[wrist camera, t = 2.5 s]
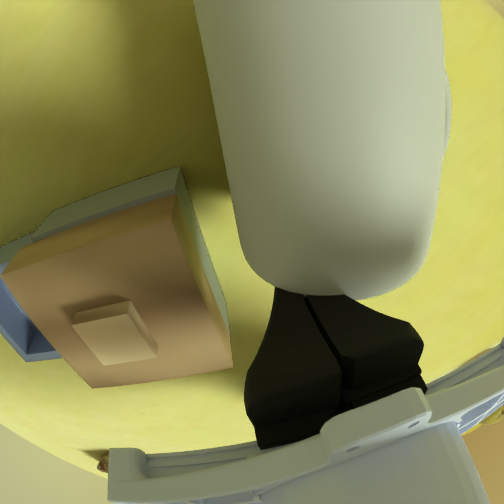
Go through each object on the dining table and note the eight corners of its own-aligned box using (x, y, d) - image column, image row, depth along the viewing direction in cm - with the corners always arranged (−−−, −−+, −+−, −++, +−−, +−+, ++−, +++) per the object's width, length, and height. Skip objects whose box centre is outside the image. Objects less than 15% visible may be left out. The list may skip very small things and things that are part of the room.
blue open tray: (114, 319, 20) (106, 351, 17) (37, 334, 20) (26, 362, 17) (57, 222, 15) (37, 250, 13) (-19, 255, 15) (-38, 281, 13)
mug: (170, 7, 9) (216, 225, 16) (249, -87, 3) (302, 343, 9) (380, 8, 12) (388, 171, 19) (510, 11, 6) (495, 227, 12)
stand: (226, 302, 20) (230, 336, 18) (119, 326, 20) (112, 359, 18) (179, 166, 15) (174, 188, 12) (52, 211, 15) (30, 238, 12)
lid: (229, 334, 18) (234, 379, 15) (98, 358, 18) (90, 398, 15) (176, 193, 13) (169, 231, 10) (20, 247, 12) (-8, 286, 10)
